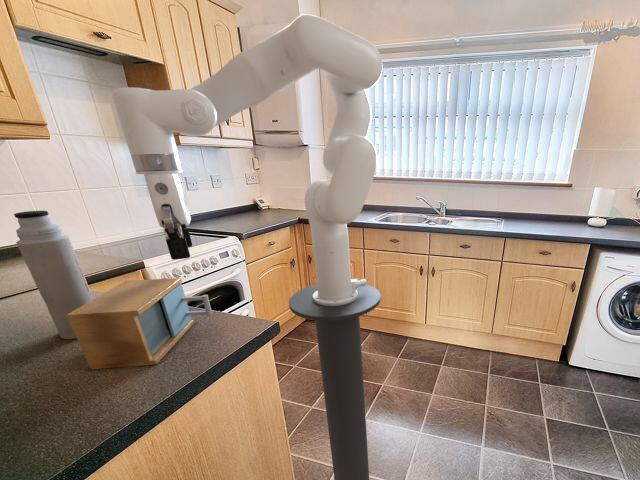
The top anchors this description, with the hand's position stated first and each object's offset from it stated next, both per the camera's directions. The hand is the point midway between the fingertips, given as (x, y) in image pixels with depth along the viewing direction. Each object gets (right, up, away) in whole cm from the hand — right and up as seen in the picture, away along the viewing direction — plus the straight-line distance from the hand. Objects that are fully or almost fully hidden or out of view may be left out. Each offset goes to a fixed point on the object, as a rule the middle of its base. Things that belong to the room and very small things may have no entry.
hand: (183, 252), depth 71 cm
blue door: (-3, -16, +9) cm, 19 cm away
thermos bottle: (-30, -18, +10) cm, 36 cm away
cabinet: (-10, -20, +4) cm, 23 cm away
